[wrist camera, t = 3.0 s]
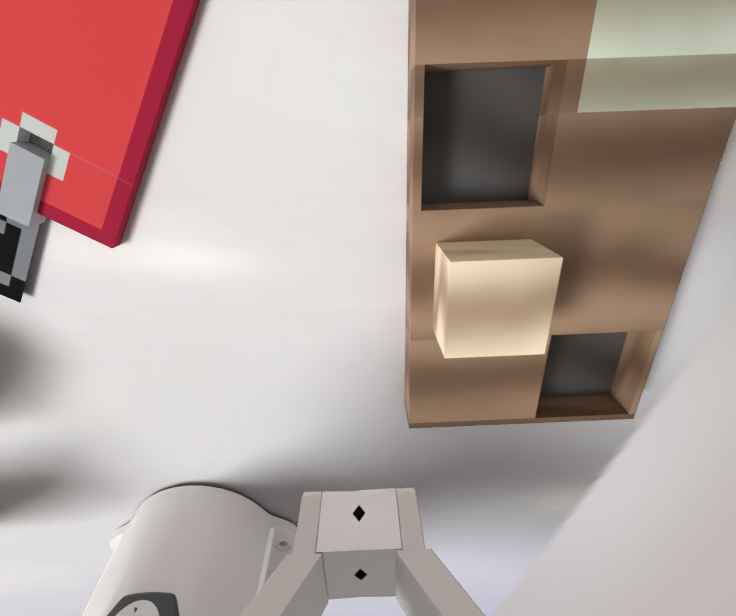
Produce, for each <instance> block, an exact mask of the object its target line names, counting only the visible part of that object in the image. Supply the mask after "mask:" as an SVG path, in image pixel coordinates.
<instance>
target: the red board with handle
mask: <svg viewBox="0 0 736 616" xmlns="http://www.w3.org/2000/svg"><path fill="white" fill-rule="evenodd" d="M199 2H200V0H0V294H1V295H3V296H6V297H8V298H10V299H13V300H15V301H18V302H21V298H22V294H23V290H24V286H25V282H26V278H27V274H28V270H29V266H30V262H31V258H32V253H33V249H34V245H35V241H36V237H37V233H38V229H39V225H40V224H42V223H45V222H46V219H47V218H49V219H51V220H53V221H55V222H57V223H60V224H62V225H64V226H66V227H68V228H70V229H72V230H74V231H77V232H79V233H81V234H83V235H85V236H87V237H89V238H91V239H93V240H96V241H98V242H100V243H102V244H104V245H106V246H108V247H110V248H114V247H116V246H118V245H120V242H121V239H122V236H123V233H124V230H125V227H126V224H127V221H128V218H129V215H130V212H131V209H132V206H133V203H134V200H135V197H136V194H137V191H138V188H139V184H140V181H141V178H142V175H143V172H144V169H145V166H146V163H147V160H148V157H149V154H150V151H151V148H152V145H153V142H154V139H155V136H156V133H157V130H158V127H159V124H160V121H161V118H162V115H163V111H164V108H165V105H166V102H167V99H168V96H169V93H170V90H171V87H172V84H173V81H174V78H175V75H176V72H177V69H178V66H179V63H180V60H181V57H182V54H183V51H184V48H185V45H186V42H187V38H188V35H189V32H190V29H191V26H192V23H193V20H194V17H195V14H196V11H197V8H198V5H199ZM31 133H32V134H34V135H36V136H38V137H40V138H42V139H44V140H46V141H48V142H49V143H51V144H53V150H52V153H50V152H48V151H46V150H44V149H42V148H40V147H38V146H36V145H35V144H33V143H31V142H29V139H30V135H31Z"/></svg>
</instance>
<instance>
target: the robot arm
mask: <svg viewBox="0 0 736 616" xmlns="http://www.w3.org/2000/svg"><path fill="white" fill-rule="evenodd" d="M110 547H111V548H112V550H113V551H114V552H113V554H112V556H111V558H110V560H109V562H108V564H107V566H106V568H105V570H104V572H103V574H102V576H101V578H100V580H99V582H98V584H97V587H96V589H95V591H94V593H93V595H92V597H91V599H90V601H89V603H88V605H87V607H86V609H85V611H84V613H83V615H82V616H321V615H322V613H323V611H324V609H325V607H326V605H327V604H328V599H340V598H353V597H385V596H396V599H397V601H398V603H399V604H400V606H401V608H402V610H403V611H404V613H405V615H406V616H485V615H484V613H483V612H482V611H481V610H480V608H479V607H478V606H477V605H476V603H475V602H474V601H473V600H472V598H471V597H470V596H469V595H468V594H467V592H466V591H465V590H464V589H463V587H462V586H461V585H460V584H459V582H458V581H457V580H456V579H455V578H454V576H453V575H452V574H451V573H450V571H449V570H448V569H447V568H446V566H445V565H444V564H443V563H442V561H441V560H440V559H439V558H438V557H437V555H436V554H435V553H434V552H433V550H432V549H425V544H424V538H423V532H422V526H421V520H420V514H419V508H418V502H417V496H416V491H415V489H414V488H396V489H395V488H386V489H369V490H359V491H321V492H304V493H303V496H302V499H301V505H300V512H299V518H298V524H297V527H296V526H295V525H294V524H293V523H291V522H289V521H286V520H284V519H281V518H278V517H275V516H272V515H271V514H269V513H267V512H266V511H265V510H263V509H262V508H261V507H260V506H258V505H257V504H256V503H254V502H253V501H251V500H249V499H247V498H246V497H244V496H241V495H239V494H237V493H234V492H231V491H228V490H225V489H221V488H216V487H210V486H197V485H192V486H180V487H174V488H170V489H166V490H163V491H160V492H158V493H156V494H154V495H152V496H150V497H149V498H147V499H146V500H145V501H144V502H143V503H142V504H141V505H140V506H139V507H138V509H137V511H136V513H135V515H134V517H133V518H132V520H131V521H130V522H129V523H127V524H125V525H124V526H122V527H120V528H119V529H117V530H116V531H115V533H114V535H113V537H112V539H111V541H110Z"/></svg>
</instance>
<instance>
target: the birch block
mask: <svg viewBox="0 0 736 616" xmlns="http://www.w3.org/2000/svg"><path fill="white" fill-rule="evenodd" d="M562 261H563V257H561V256H560V255H558V254H556V253H555V252H553V251H551V250H549V249H548V248H546V247H544V246H542V245H541V244H539V243H537V242H535V241H534V240H532V239H518V240H493V241H468V242H442V243H436V255H435V278H434V301H433V323H432V328H433V330H434V333H435V335H436V338H437V341H438V343H439V346H440V348H441V351H442V353H443V356H444V358H467V357H491V356H515V355H539V354H545V349H546V344H547V339H548V334H549V328H550V323H551V318H552V313H553V308H554V303H555V297H556V292H557V287H558V282H559V277H560V271H561V266H562Z"/></svg>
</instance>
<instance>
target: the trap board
mask: <svg viewBox="0 0 736 616" xmlns="http://www.w3.org/2000/svg"><path fill="white" fill-rule="evenodd" d="M735 117H736V0H409V29H408V131H407V232H406V334H405V408H406V413H407V419H408V425H409V428H430V427H453V426H476V425H499V424H522V423H544V422H567V421H590V420H613V419H634V416H635V413H636V410H637V407H638V404H639V401H640V398H641V395H642V392H643V389H644V386H645V383H646V380H647V377H648V374H649V371H650V368H651V365H652V362H653V359H654V357H655V354H656V351H657V348H658V345H659V342H660V339H661V336H662V333H663V330H664V327H665V324H666V321H667V318H668V315H669V312H670V309H671V306H672V303H673V300H674V297H675V294H676V291H677V289H678V286H679V283H680V280H681V277H682V274H683V271H684V268H685V265H686V262H687V259H688V256H689V253H690V250H691V247H692V244H693V241H694V238H695V235H696V232H697V229H698V226H699V224H700V221H701V218H702V215H703V212H704V209H705V206H706V203H707V200H708V197H709V194H710V191H711V188H712V185H713V182H714V179H715V176H716V173H717V170H718V167H719V164H720V161H721V158H722V156H723V153H724V150H725V147H726V144H727V141H728V138H729V135H730V132H731V129H732V126H733V123H734V120H735ZM518 239H532V240H534V241H535V242H537V243H539V244H541V245H542V246H544V247H546V248H548V249H549V250H551V251H553V252H555V253H556V254H558V255H560V256H561V257H563V261H562V266H561V271H560V277H559V282H558V287H557V292H556V297H555V303H554V308H553V313H552V318H551V323H550V328H549V334H548V339H547V344H546V349H545V354H539V355H515V356H491V357H467V358H444V356H443V353H442V351H441V348H440V346H439V343H438V341H437V338H436V335H435V333H434V330H433V328H432V323H433V301H434V278H435V255H436V243H442V242H468V241H493V240H518Z"/></svg>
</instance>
